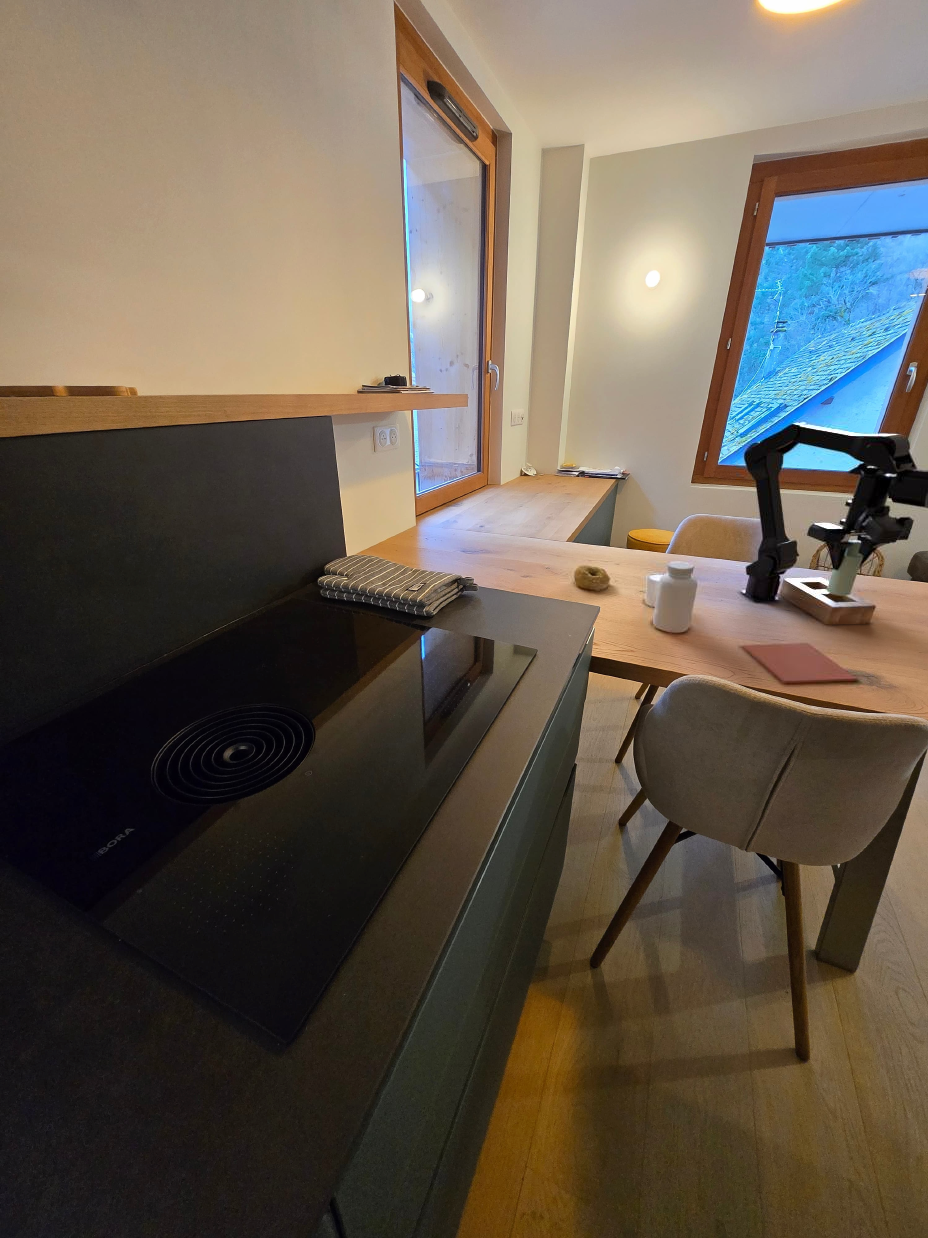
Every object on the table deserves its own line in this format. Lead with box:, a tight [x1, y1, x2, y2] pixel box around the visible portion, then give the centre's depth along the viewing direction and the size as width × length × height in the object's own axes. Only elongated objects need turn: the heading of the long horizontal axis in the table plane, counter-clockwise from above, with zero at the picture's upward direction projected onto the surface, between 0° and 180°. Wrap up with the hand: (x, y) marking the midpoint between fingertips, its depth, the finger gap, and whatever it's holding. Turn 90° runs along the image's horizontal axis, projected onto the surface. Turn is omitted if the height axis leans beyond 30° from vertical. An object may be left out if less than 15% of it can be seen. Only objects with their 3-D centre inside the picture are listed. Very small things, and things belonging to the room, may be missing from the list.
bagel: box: [573, 564, 611, 592], centre depth 137 cm, size 10×11×5 cm
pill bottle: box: [652, 560, 698, 634], centre depth 111 cm, size 8×8×15 cm
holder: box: [778, 577, 877, 626], centre depth 121 cm, size 10×18×4 cm, turn 2°
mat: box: [742, 642, 858, 684], centre depth 98 cm, size 14×14×1 cm
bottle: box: [827, 539, 863, 596], centre depth 109 cm, size 4×4×12 cm
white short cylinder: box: [644, 572, 665, 608], centre depth 125 cm, size 7×7×7 cm
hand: (845, 569), depth 109 cm, fingers closed on bottle, 4 cm apart
